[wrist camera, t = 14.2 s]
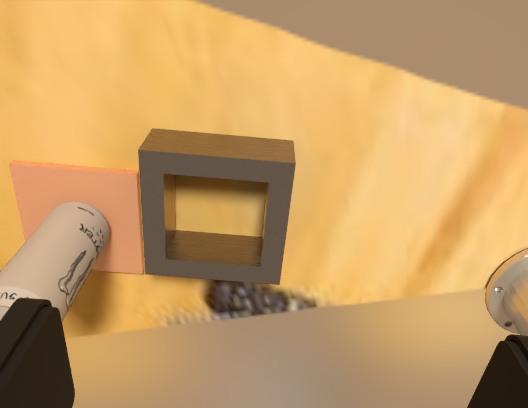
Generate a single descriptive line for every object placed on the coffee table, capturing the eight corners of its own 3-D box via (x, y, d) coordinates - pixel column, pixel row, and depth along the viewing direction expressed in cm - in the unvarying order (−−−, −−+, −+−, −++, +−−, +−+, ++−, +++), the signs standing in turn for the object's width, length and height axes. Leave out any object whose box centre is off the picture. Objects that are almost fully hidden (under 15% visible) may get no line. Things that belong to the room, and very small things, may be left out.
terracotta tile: (138, 171, 43) (136, 174, 43) (144, 269, 49) (142, 274, 49) (13, 160, 43) (8, 164, 42) (34, 260, 49) (30, 265, 48)
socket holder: (293, 140, 42) (295, 163, 37) (278, 254, 48) (279, 284, 44) (152, 128, 41) (138, 149, 37) (157, 244, 48) (145, 274, 43)
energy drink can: (115, 248, 47) (55, 363, 34) (58, 245, 47) (-25, 360, 34) (108, 198, 44) (39, 303, 31) (47, 195, 44) (-48, 299, 31)
